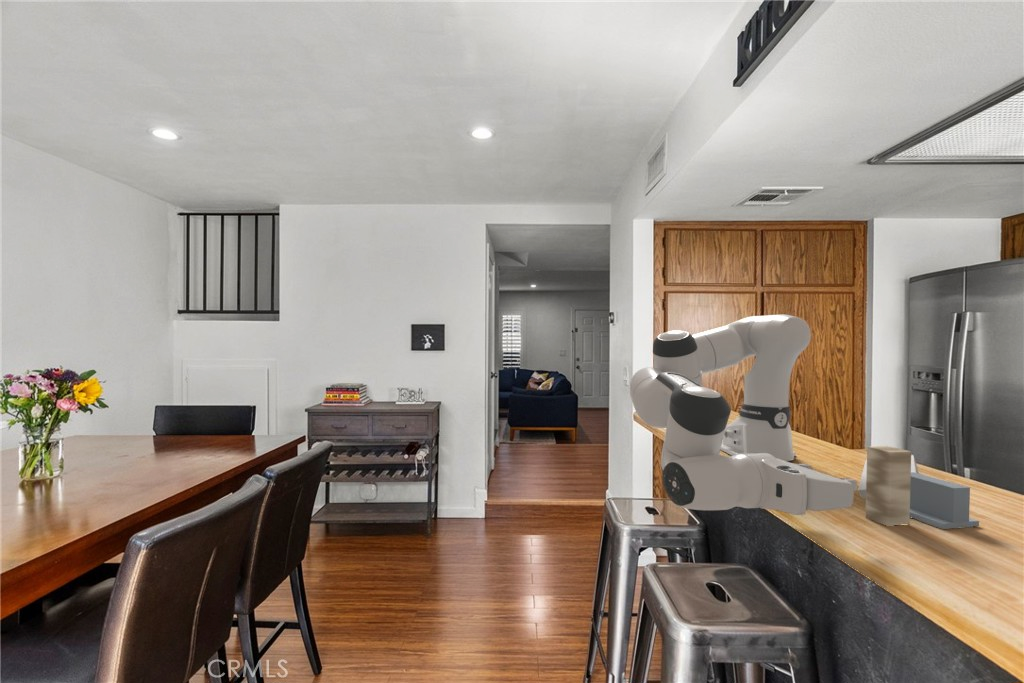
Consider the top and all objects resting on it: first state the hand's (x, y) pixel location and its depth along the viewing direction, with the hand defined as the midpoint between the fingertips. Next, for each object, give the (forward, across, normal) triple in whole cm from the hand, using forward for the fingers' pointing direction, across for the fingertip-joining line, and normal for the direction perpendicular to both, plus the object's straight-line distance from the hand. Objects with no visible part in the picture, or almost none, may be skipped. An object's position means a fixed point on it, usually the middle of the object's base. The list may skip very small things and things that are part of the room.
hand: (830, 476), depth 89 cm
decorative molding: (+35, -20, -9) cm, 42 cm away
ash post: (+12, 0, -9) cm, 15 cm away
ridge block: (+22, 0, -9) cm, 24 cm away
